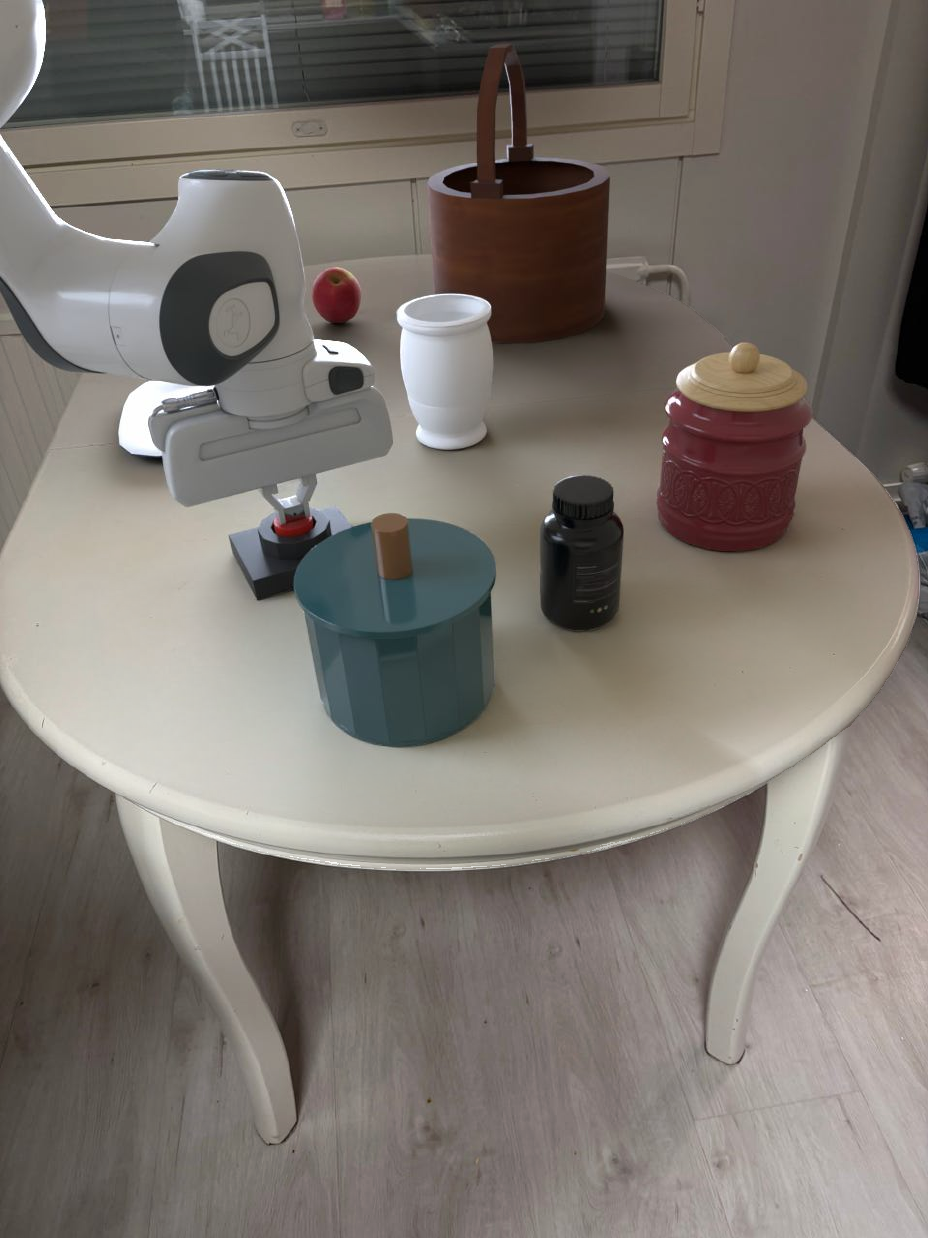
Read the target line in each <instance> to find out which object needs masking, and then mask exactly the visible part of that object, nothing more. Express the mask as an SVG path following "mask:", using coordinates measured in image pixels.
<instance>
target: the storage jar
mask: <svg viewBox="0 0 928 1238" xmlns="http://www.w3.org/2000/svg"><path fill="white" fill-rule="evenodd" d="M492 608H493V607H492V592H491V593H490V594H489V596H488V597H487V599H486V600H485V601H484V602H483V603H482V604H481V605H480V607H478V608H477V609H476V610H475V611H473V612H472V613H471V614H469V615H468V616H466V617H465V618H463V619H461V620H460V621H457V622H455V623H453V624H451V625H449V626H447V627H444V628H441V629H439V630H436V631H432V632H429V633H425V634H421V635H416V636H411V637H403V638H391V639H375V638H362V637H355V636H350V635H346V634H342V633H339V632H336V631H333V630H330V629H328V628H326V627H324V626H322V625H320V624H318V623H317V622H315V621H314V620H312V619H311V618H310V617H309V616H308V615H307V614H306V613H304V612H303V614H304V618H305V624H306V625H305V626H306V630H307V634H308V640H309V646H310V651H311V656H312V662H313V666H314V672H315V676H316V682H317V688H318V693H319V697H320V700H321V702H322V704H323V708H324V710H325V712H326V714H327V716H328V717H329V719H330V720H331V721H332V722H333V724H334V725H335V726H336V727H337V728H338V729H340V730H341V731H343V732H344V733H345V734H347V735H349V736H350V737H353V738H354V739H357V740H360V741H362V742H365V743H368V744H372V745H375V746H377V745H378V746H383V747H395V748H396V747H400V748H401V747H415V746H422V745H427V744H432V743H435V742H438V741H442V740H445V739H447V738H450V737H452V736H454V735H456V734H457V733H459V732H462V731H463V730H464V729H466V728H467V727H469V726H470V725H471V724H473V723H474V722H475V721H476V720H477V719H479V717H481V715H482V714H483V713H484V711H486V709H487V707H488V705H489V703H490V702H491V699H492V696H493V692H494V688H495V686H496V682H495V681H496V680H495V679H496V678H495V657H494V655H495V654H494V633H493V632H494V630H493V609H492Z"/></svg>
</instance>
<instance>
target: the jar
mask: <svg viewBox="0 0 928 1238" xmlns="http://www.w3.org/2000/svg"><path fill="white" fill-rule="evenodd" d="M490 317H491V305H490V304H489V302H487V301H486V300H484V299H482V298H479V297H476V296H471V295H465V294H437V295H435V294H431V295H424V296H421V297H416V298H413V299H410V300H407V301H406V302H405V303H402V304H401V305H400V306H399V307H398V308H397V310H396V321H397V323H398V324H399V326H400V327H402V329H401V333H400V334H401V335H400V344H399V345H400V347H399V352H400V354H399V357H400V358H399V359H400V369H401V376H402V381H403V384H404V388H405V390H406V393H407V401H408V404H409V407H410V410H411V413H412V415H413V417H414V419H415V421H416V422H417V424H418V426H417V428H416V431H415V436H416V438H417V440H418V442H420V444H422V445H424V446H426V447H428V448H432V449H435V450H446V451H448V450H450V451H451V450H461V449H465V448H469V447H472V446H474V445H477V444H478V443H480V442H481V441H482V440H483V439H484V438H485V437H486V435H487V433H488V430H487V426H486V424H485V422H484V419H485V416H486V414H487V411H488V409H489V403H490V398H491V388H492V382H493V375H494V374H493V373H494V350H493V342H492V341H491V336H490V331H489V328H488V325H487V321H488V320H489V319H490Z"/></svg>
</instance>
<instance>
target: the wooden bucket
mask: <svg viewBox="0 0 928 1238" xmlns="http://www.w3.org/2000/svg"><path fill="white" fill-rule="evenodd" d="M483 68H484V69H483V73H482V76H481V80H480V84H479V85H480V86H479V93H478V100H477V106H476V162H471V163H465V164H461V165H456V166H453V167H450V168H447V169H444V170H440V171H439V172H436V173H435V174H433V175H432V176H430V177H429V178H428V180H427V182H426V190H427V204H428V220H429V233H430V249H431V261H432V264H431V265H432V276H433V290H434V295H437V294H465V295H471V296H476V297H479V298H482V299H484V300H486V301H487V302H489V304H490V305H491V317H490V319H489V320H488V321H487V325H488V328H489V331H490V336H491V341H492V343H499V344H526V343H527V344H528V343H529V344H532V343H538V342H539V343H540V342H545V341H553V340H560V339H563V338H566V337H569V336H570V337H571V336H573V335H577V334H580V333H583V332H584V331H586V330H589V329H590V328H593V327H594V326H596V325H598V323H599V322H600V321H601V320H602V319H603V317H604V316H605V311H606V287H607V286H606V285H607V263H608V262H607V261H608V260H607V259H608V236H609V212H610V211H609V208H610V190H611V189H610V186H611V185H610V184H611V174H610V170H609V169H608V168H605V167H603V166H602V165H600V164H598V163H593V162H589V161H584V160H578V159H568V158H560V157H559V158H558V157H535V156H534V155H535V152H534V151H535V150H534V147H535V146H534V143H528V118H527V99H526V98H527V97H526V81H525V77H524V71H523V67H522V62H521V61H520V58H519V55H518V52H517V50H516V48H515V44H514V43H513V42H511V43H495V44H494V45H492V46H490V47H489V48H488V53H487V57H486V61H485V64H484V67H483ZM504 68H505V72H506V76H507V80H508V84H509V85H508V87H509V101H510V117H511V144H506V158H501V159H496V107H497V99H498V93H499V86H500V79H501V76H502V74H503V71H504V70H503V69H504Z"/></svg>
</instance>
